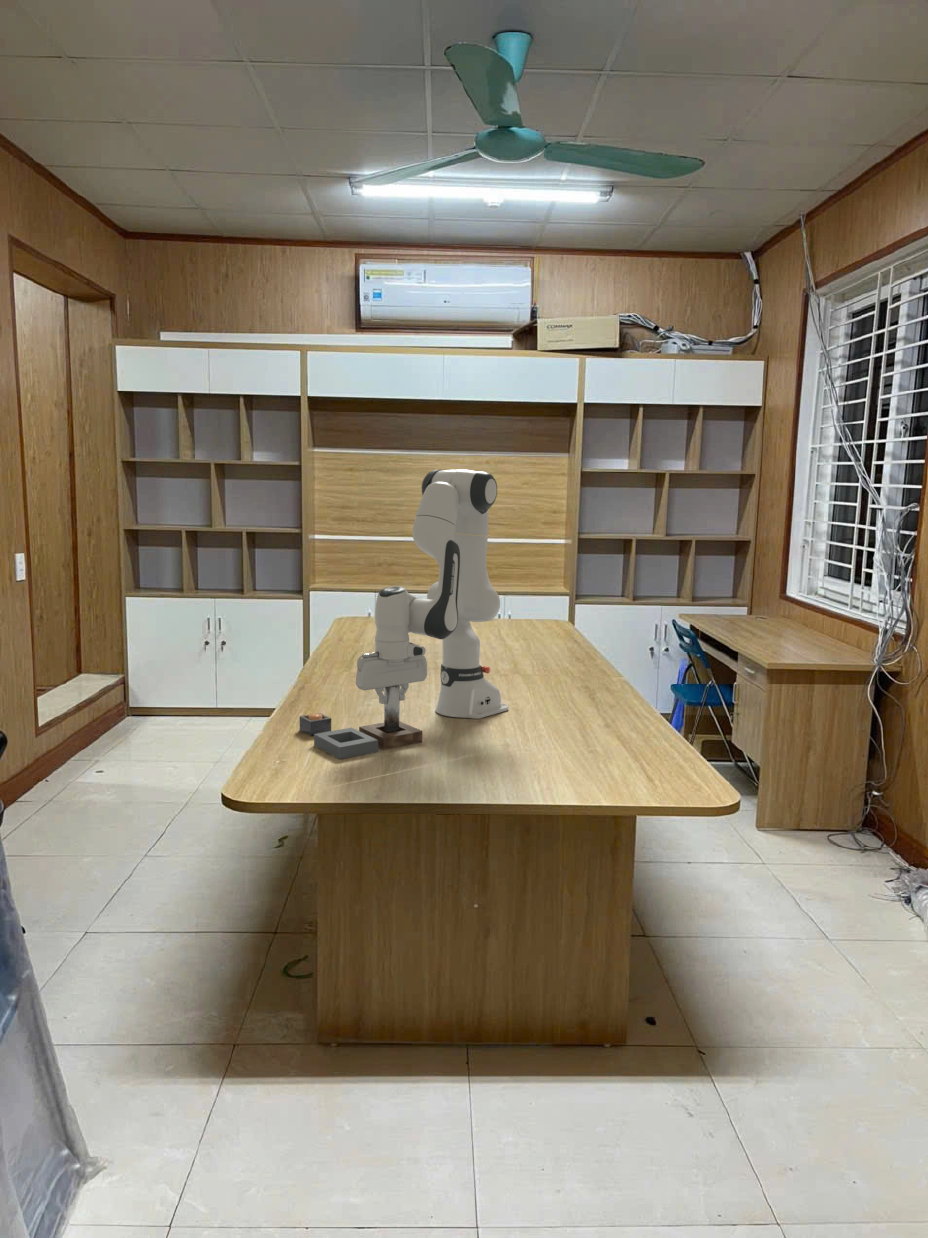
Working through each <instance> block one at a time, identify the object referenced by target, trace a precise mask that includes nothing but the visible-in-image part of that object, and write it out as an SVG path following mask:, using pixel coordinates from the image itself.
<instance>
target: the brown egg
mask: <svg viewBox="0 0 928 1238" xmlns="http://www.w3.org/2000/svg"><path fill="white" fill-rule="evenodd" d="M321 714H322V713H321ZM321 714H317V713H310V714H308V715H309V719H310V720H318V719H322V715H321Z"/></svg>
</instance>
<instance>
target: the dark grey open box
mask: <svg viewBox="0 0 928 1238" xmlns="http://www.w3.org/2000/svg"><path fill="white" fill-rule="evenodd" d="M316 714H321V715H322V719H318V720H310V719H309V715H310V714H306V715H300V716H299V731H300V732H301V733H303V734H305V735H307V736H308V737H314V734H317V733H323V732H329V731H332V717H329V716H328V715H325V714H323V713H321V712H317V713H316Z"/></svg>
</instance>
